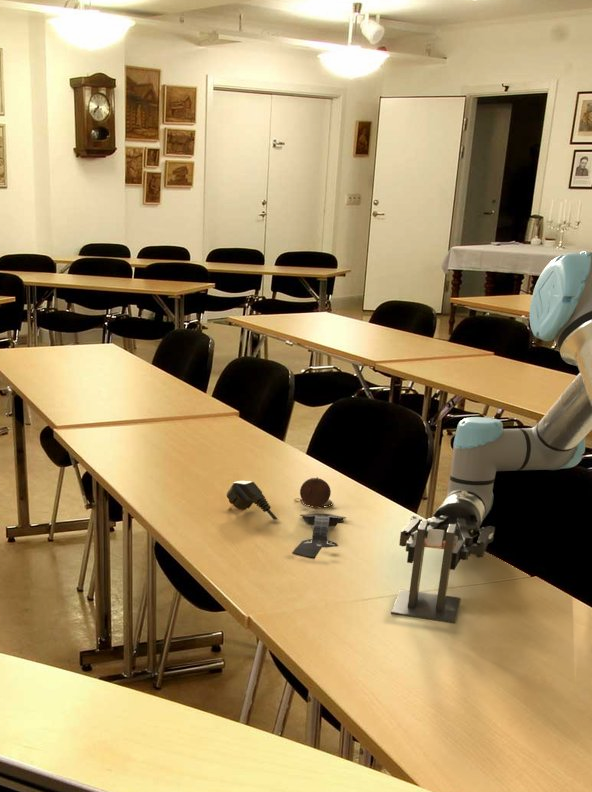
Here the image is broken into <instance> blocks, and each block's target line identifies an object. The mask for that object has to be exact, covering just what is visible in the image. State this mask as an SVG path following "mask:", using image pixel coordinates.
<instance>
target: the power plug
mask: <svg viewBox="0 0 592 792" xmlns="http://www.w3.org/2000/svg"><path fill="white" fill-rule="evenodd" d="M226 497H227V499H228V502H229V505H228V506H227V510H231V509H233V507H234V508H235V509H238V510H243V511H246V510H248V509H250V508H251V507H252V506H253V504H254V505H256V506H257V507H258V508H259V509H260V510H262V512H264V513H266V512H267V513H268V515H270V517H271V518H272V520H278V517H277V516H276V515H275V514H274V513H273V512H272V510H271V508H272V507H271V505H270V503H269V502H268V500H267V498H266V497H265V495H264V494H263V491H262V490H261V489H260V488H259V486H258V485H257V484H256V482H254V481H252V480H251V481H250V480H249V481H248V480H237V481H235V482H233V483H232V485H231V486H230V488H229V489H228V491H227V492H226Z"/></svg>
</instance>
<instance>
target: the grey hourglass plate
mask: <svg viewBox="0 0 592 792" xmlns="http://www.w3.org/2000/svg"><path fill="white" fill-rule="evenodd" d="M299 516H300V517H302V519H303V521H305V522H306V524H307V525H313V529H312V536H311V538H310V539H305V540H301V542H300V543H299V544H298V545H297V546H296V547H295V548H294V550H292V552H291V553H292V554H294V555H298V556H302V557H306V558H309V559H316V558H317V556H318V555H319V553H320V551H321V550H322V548H326V549H328V548H337V547H339V545H338V543H337V542H334V541H332V540H329V526H331V527H332V526H333V527H334V526H335V527H336V526H337V525H338V524H340V523H342V522H344V520H345V519H347V517H346V516H341V515H336V514H332V513H317V512H315V513H304V514H303V513H302V514H299Z"/></svg>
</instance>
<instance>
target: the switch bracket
mask: <svg viewBox="0 0 592 792" xmlns="http://www.w3.org/2000/svg"><path fill="white" fill-rule="evenodd" d="M427 526H428V522H427V520H422V521H421V522H420V525H419V527H418V530H417V531H415V533H414V540H415V541H416V545H415V553H414V561H413V563H412V569H411V577H410V585H409V590H408V589H399V591H398V594H397V596H396V599H395V601H394V604H393V607H392V609H391V612H390V615H395V616H400V617H407V618H408V617H409V618H414V619H421V620H428V621H435V622H440V623H441V622H442V623H448V624H456V619H457V617H458V616H457V615H458V611H459V606H460V602H461V599H462V598H461V597H458V596H450V595H447V592H448V586H449V578H450V572H451V569H450V566H451V559H452V552H453V545H457V540H458V536H455V531H456V524H449V527H448V530H447V533H446V540H445V547H444V549H443V554H442V560H441V561H442V562H441V563H442V564H441V567H440V568H441V569H440V575H439V583H438V590H437V594H436V593H431V592H424V591H423V592H422V591H420V585H421V577H422V571H423V562H424V557H425V556H424V555H425V548H426V547H425V541H426V533H427Z"/></svg>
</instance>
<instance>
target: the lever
mask: <svg viewBox="0 0 592 792" xmlns="http://www.w3.org/2000/svg"><path fill="white" fill-rule="evenodd" d="M444 536H445V531H444V530H438V529H428V535H427V539H426V541H425V548H427V549H428V548H429V549H438V550H444V547H445V541H444ZM455 546H456V545H453V550H454V548H455Z"/></svg>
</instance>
